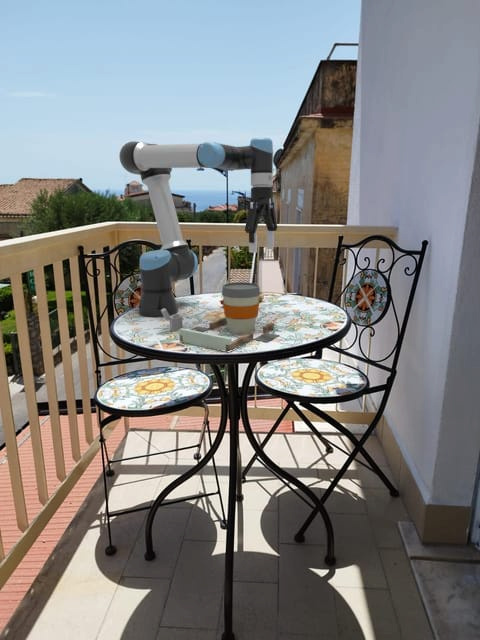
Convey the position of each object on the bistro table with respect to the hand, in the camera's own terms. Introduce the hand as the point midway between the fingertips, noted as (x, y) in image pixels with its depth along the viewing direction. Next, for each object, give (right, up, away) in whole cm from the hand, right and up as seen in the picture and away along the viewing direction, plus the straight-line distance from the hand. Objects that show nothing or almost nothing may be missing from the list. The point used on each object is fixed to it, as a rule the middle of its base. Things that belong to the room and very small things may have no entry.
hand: (261, 250), depth 152 cm
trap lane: (-11, -29, -14) cm, 34 cm away
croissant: (-6, -19, +26) cm, 33 cm away
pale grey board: (-18, -33, -25) cm, 45 cm away
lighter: (-30, -28, -9) cm, 43 cm away
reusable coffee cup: (-7, -28, -9) cm, 30 cm away
